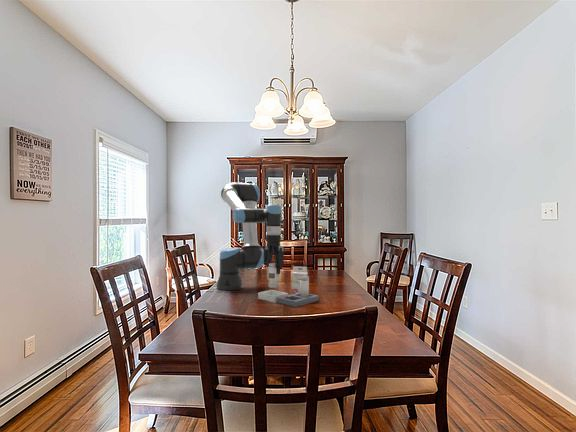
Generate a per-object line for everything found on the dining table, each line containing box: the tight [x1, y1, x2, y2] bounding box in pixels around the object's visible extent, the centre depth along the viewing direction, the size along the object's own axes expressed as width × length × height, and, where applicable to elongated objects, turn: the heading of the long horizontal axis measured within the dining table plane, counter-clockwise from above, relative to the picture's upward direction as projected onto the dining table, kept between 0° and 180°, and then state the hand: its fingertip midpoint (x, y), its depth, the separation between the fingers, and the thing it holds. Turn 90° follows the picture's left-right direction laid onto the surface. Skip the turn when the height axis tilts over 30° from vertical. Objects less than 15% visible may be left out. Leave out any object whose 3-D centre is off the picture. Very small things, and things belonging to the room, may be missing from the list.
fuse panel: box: [276, 292, 320, 308], centre depth 182 cm, size 12×18×3 cm, turn 138°
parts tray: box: [257, 289, 289, 303], centre depth 187 cm, size 12×10×3 cm
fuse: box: [300, 276, 310, 297], centre depth 185 cm, size 5×5×12 cm
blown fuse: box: [268, 262, 279, 289], centre depth 187 cm, size 5×5×12 cm
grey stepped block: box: [291, 265, 309, 294], centre depth 201 cm, size 9×5×15 cm, turn 84°
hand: (273, 279), depth 187 cm, fingers closed on blown fuse, 5 cm apart
